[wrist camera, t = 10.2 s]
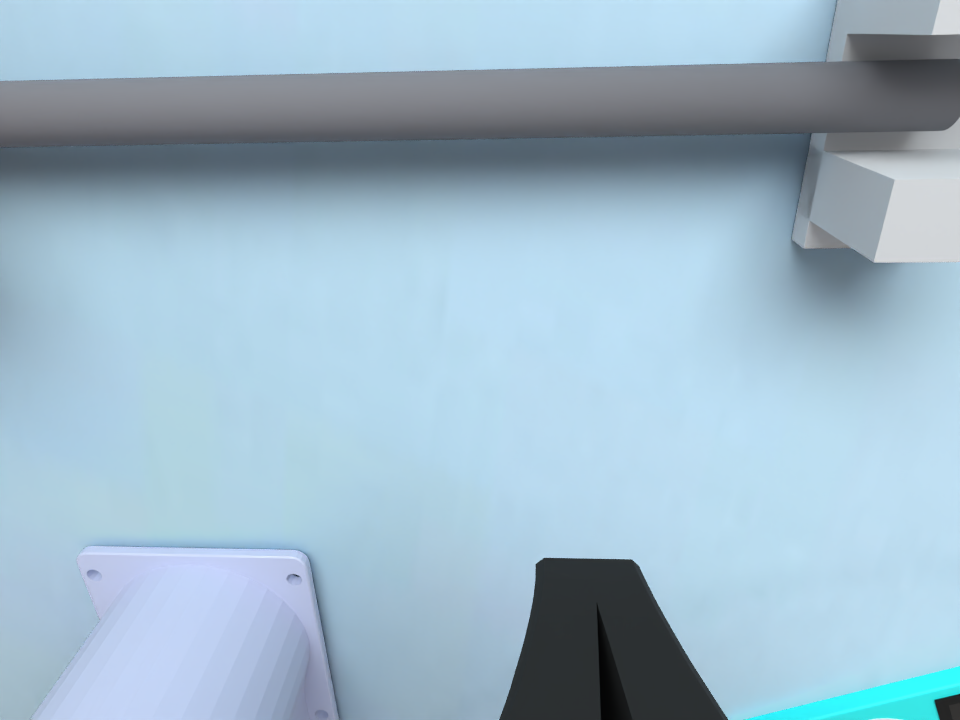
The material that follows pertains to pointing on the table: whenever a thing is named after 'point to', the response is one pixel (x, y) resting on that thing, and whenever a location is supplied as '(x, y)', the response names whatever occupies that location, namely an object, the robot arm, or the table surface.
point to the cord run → (604, 117)
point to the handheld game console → (887, 702)
